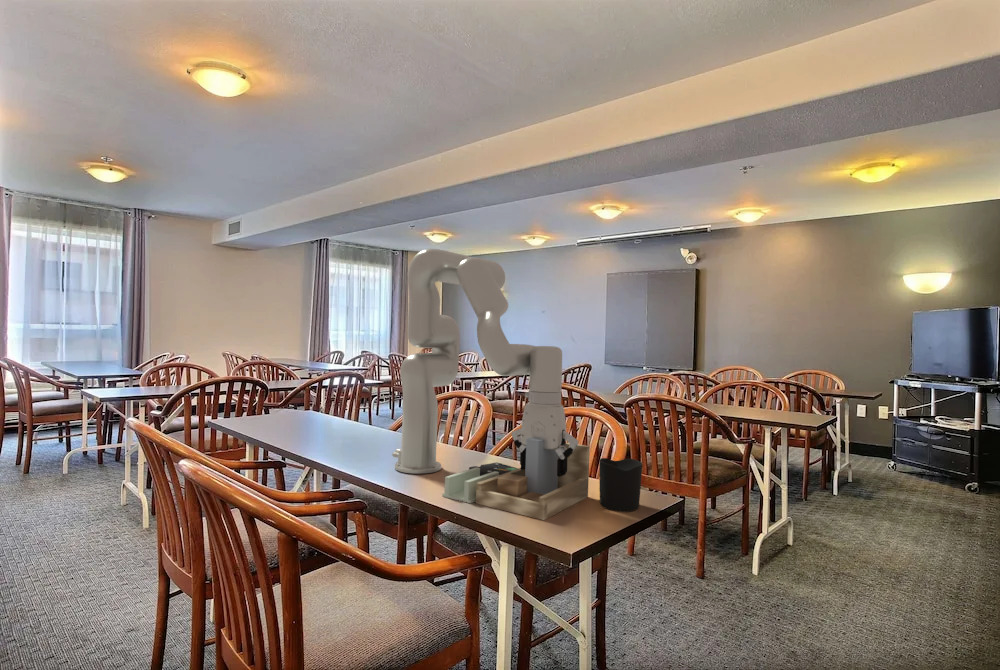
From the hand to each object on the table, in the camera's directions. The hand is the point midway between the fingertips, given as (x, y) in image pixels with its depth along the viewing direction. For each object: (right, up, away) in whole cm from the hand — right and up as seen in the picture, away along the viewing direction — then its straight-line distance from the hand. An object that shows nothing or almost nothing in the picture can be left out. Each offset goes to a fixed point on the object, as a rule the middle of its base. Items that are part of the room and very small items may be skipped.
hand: (542, 472), depth 129 cm
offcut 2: (-7, -6, -6) cm, 11 cm away
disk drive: (-10, -6, +16) cm, 19 cm away
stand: (-17, -5, 0) cm, 17 cm away
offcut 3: (-3, -6, -9) cm, 11 cm away
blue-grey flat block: (0, -6, 0) cm, 6 cm away
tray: (-2, -6, -3) cm, 7 cm away
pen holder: (+17, -7, -5) cm, 19 cm away
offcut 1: (-7, -3, -6) cm, 10 cm away
